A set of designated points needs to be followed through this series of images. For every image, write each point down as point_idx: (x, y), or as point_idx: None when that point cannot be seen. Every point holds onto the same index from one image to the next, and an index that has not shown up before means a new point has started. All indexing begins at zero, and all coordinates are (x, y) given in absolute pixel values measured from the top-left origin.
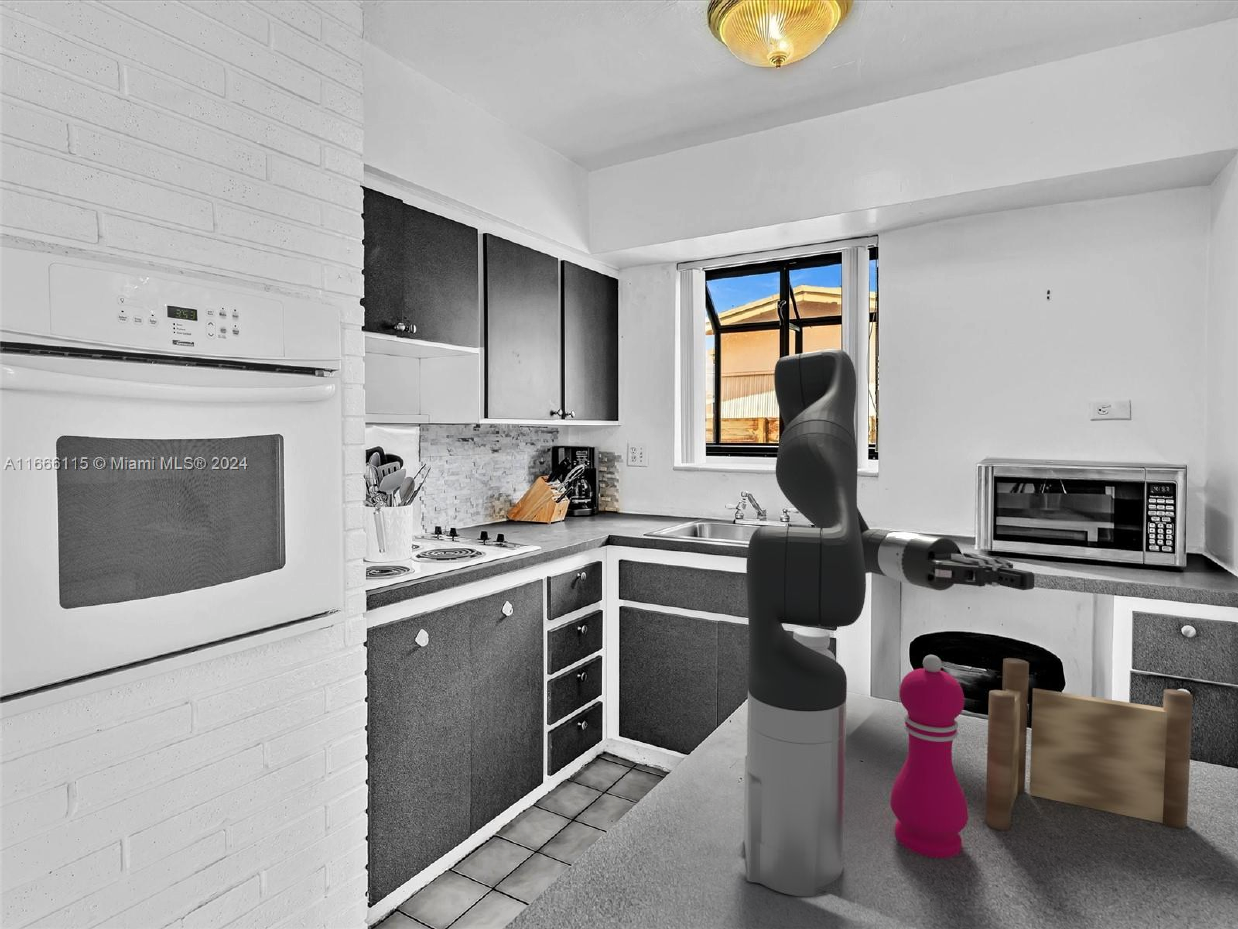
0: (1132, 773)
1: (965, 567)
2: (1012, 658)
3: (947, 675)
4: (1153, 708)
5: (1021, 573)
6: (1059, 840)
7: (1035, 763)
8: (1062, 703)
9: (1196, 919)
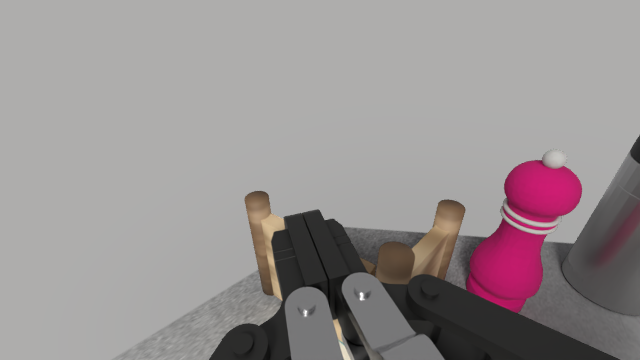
0: None
1: (499, 309)
2: (394, 265)
3: (532, 163)
4: (273, 220)
5: (322, 217)
6: None
7: None
8: None
9: (346, 227)
